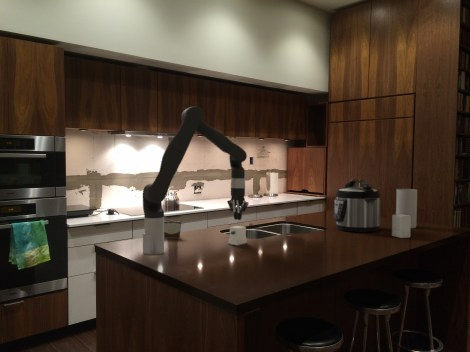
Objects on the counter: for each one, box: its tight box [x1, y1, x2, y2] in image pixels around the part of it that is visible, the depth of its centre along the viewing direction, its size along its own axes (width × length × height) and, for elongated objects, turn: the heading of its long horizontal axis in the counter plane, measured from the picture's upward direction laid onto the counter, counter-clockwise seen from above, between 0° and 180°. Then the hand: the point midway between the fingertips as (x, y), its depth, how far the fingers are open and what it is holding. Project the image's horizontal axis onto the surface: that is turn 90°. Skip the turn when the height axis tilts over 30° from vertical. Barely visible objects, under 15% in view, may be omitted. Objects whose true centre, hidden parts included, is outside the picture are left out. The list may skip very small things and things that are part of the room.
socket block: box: [228, 237, 248, 247], centre depth 206 cm, size 8×6×3 cm
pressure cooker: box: [333, 179, 381, 233], centre depth 250 cm, size 30×28×32 cm
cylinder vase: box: [395, 188, 418, 229], centre depth 259 cm, size 12×12×25 cm
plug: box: [229, 225, 247, 240], centre depth 206 cm, size 8×6×8 cm
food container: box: [164, 218, 183, 239], centre depth 224 cm, size 12×6×10 cm, turn 84°
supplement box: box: [391, 214, 412, 239], centre depth 228 cm, size 7×7×13 cm
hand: (237, 219), depth 206 cm, fingers closed
